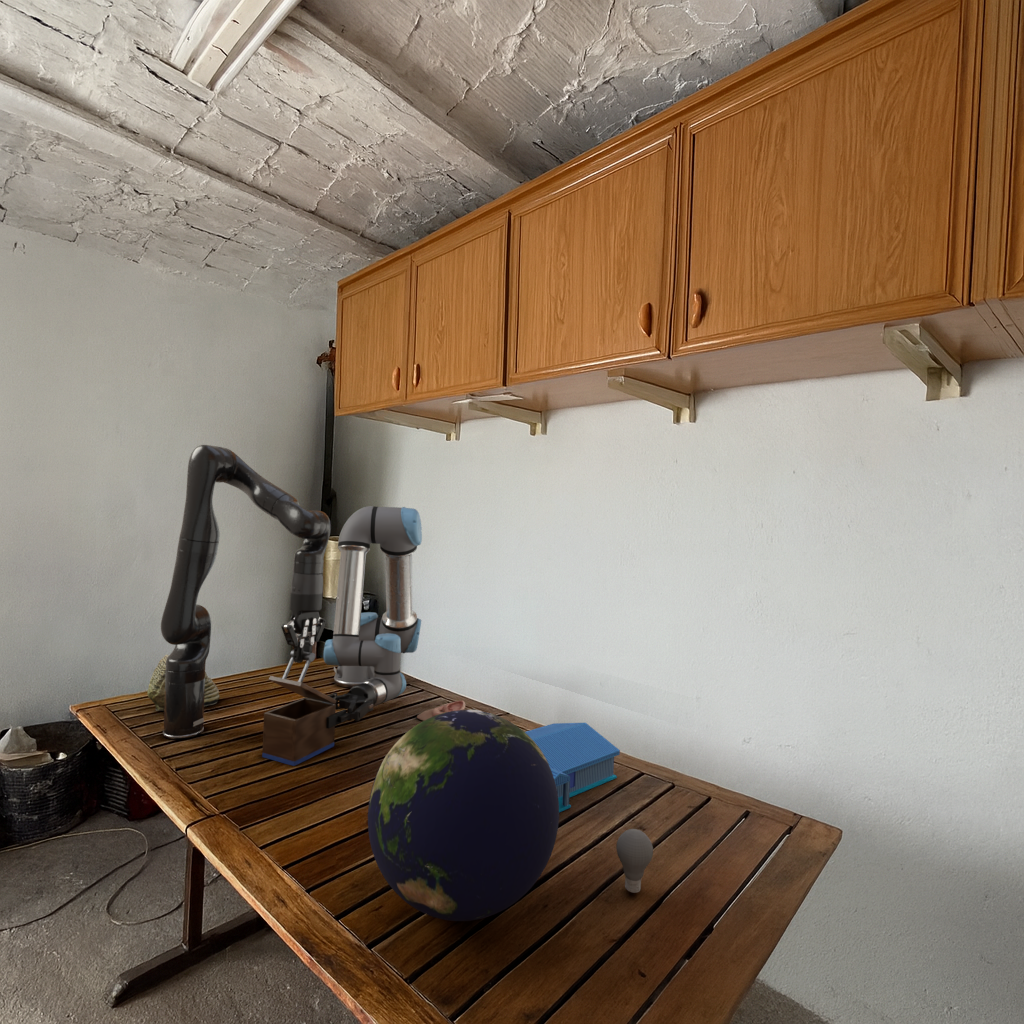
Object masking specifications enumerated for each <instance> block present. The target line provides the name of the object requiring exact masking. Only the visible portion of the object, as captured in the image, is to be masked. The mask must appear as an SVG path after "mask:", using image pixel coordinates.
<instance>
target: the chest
mask: <svg viewBox="0 0 1024 1024" xmlns="http://www.w3.org/2000/svg"><path fill="white" fill-rule="evenodd" d="M336 711H337V710H336V704H331V703H327V702H322V701H318V700H313V699H310V698H305V697H303V698H300V699H297V700H294V701H292V702H289V703H287V704H284V705H282V706H279V707H276V708H274V709H271V710H268V711H266V712H263V728H262V733H263V734H262V754H261V757H262V758H264V759H268V760H271V761H275V762H279V763H282V764H285V765H289V766H293V767H295V766H297V765H299V764H301V763H303V762H306V761H307V760H309V759H311V758H313V757H315V756H317V755H319V754H322V753H324V752H325V751H328V750H330V749H331V748H334V747H335V733H336V732H335V731H336V725H335V726H333V727H331V728H326V726H327V717H329V716H331V715H333V714H335V713H336Z"/></svg>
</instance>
